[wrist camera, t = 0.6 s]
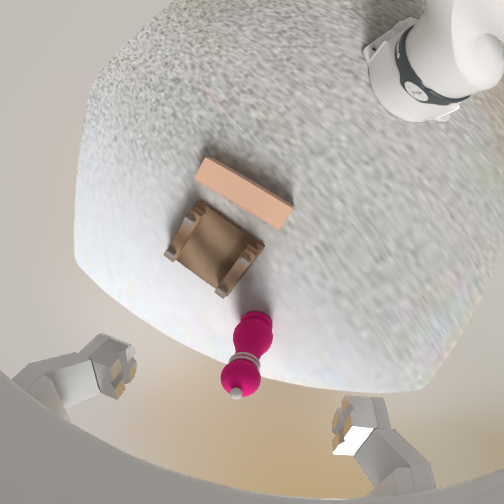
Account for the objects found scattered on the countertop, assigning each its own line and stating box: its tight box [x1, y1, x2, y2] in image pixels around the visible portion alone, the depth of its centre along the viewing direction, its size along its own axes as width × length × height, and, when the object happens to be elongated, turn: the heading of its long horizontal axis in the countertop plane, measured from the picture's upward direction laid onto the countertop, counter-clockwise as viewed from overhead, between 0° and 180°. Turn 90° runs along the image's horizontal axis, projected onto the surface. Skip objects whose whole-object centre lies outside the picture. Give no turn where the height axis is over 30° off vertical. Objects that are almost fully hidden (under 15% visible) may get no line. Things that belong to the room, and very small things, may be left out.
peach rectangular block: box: [194, 157, 294, 231], centre depth 45 cm, size 4×16×4 cm, turn 60°
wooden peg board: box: [164, 199, 265, 299], centre depth 48 cm, size 12×14×6 cm
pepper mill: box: [221, 311, 273, 399], centre depth 45 cm, size 7×7×20 cm
